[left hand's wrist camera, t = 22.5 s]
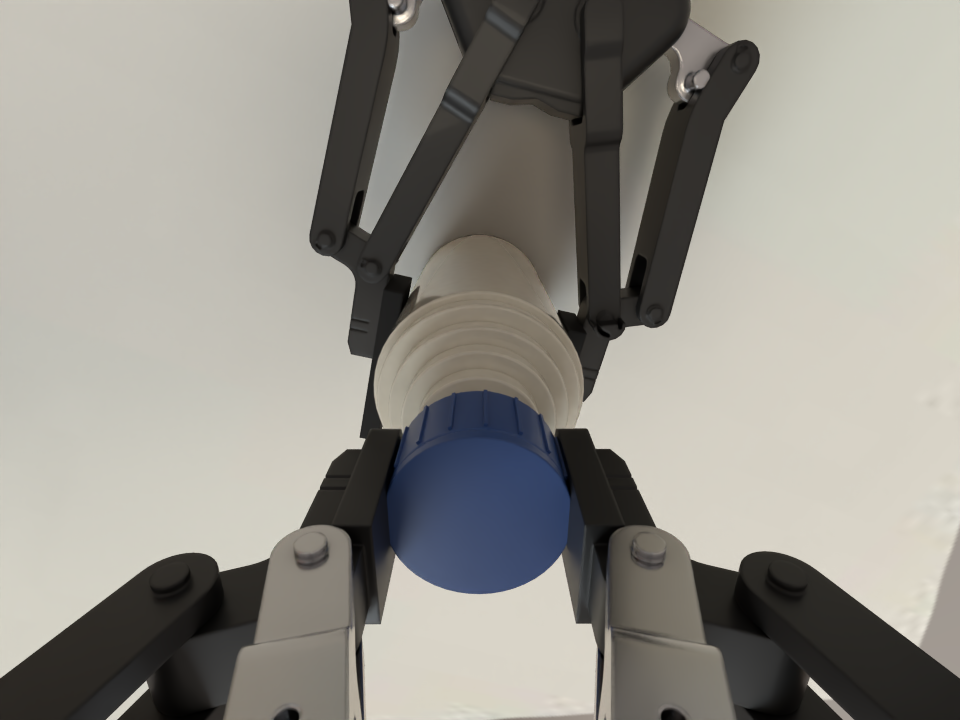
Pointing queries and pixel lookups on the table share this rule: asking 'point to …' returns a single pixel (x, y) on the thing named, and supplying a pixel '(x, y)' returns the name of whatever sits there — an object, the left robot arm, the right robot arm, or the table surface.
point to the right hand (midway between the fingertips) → (454, 438)
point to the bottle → (478, 338)
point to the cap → (478, 494)
